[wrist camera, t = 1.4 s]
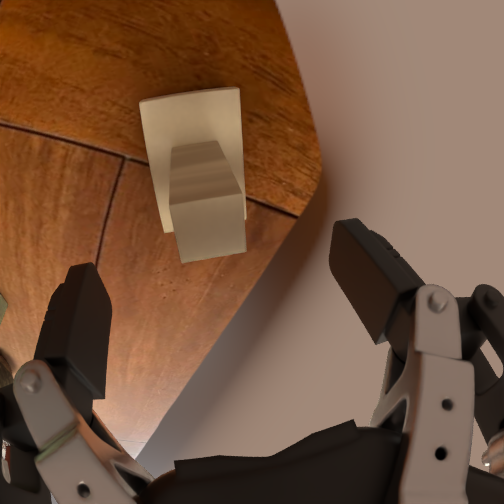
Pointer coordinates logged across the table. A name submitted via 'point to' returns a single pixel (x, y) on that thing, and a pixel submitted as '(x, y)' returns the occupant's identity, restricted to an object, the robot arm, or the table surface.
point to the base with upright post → (198, 169)
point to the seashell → (5, 373)
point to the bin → (2, 307)
